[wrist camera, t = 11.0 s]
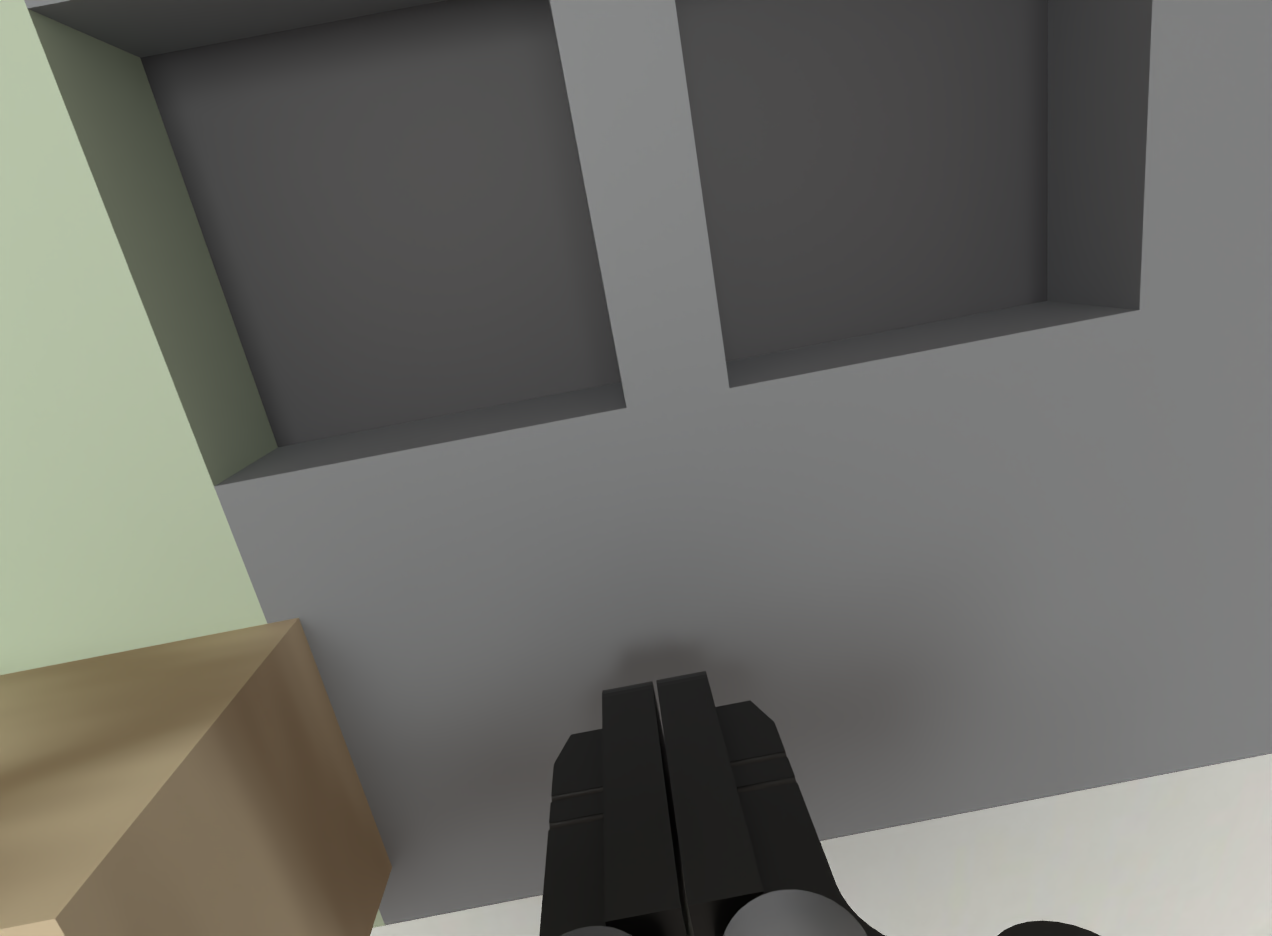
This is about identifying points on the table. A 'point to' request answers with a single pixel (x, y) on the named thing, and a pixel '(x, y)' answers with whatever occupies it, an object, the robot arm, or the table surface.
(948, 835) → the table surface
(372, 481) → the trap deck
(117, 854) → the beech block
